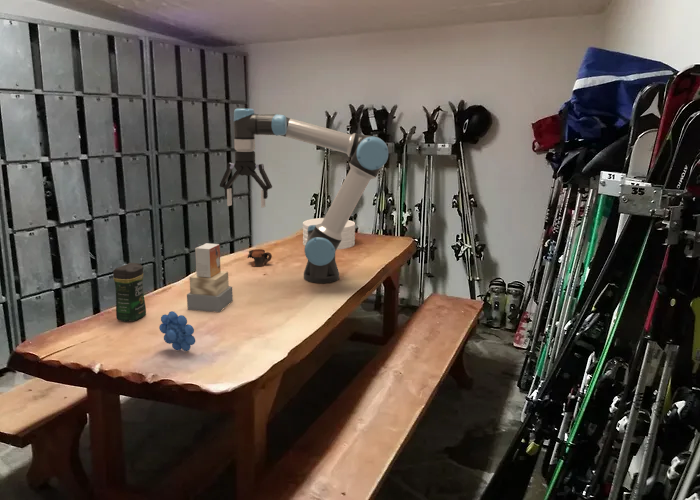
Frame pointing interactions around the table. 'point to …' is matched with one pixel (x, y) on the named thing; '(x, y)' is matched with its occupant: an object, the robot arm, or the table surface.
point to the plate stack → (346, 233)
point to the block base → (209, 301)
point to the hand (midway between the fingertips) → (246, 206)
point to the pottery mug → (259, 257)
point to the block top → (209, 284)
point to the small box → (207, 260)
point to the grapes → (177, 331)
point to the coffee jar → (129, 292)
